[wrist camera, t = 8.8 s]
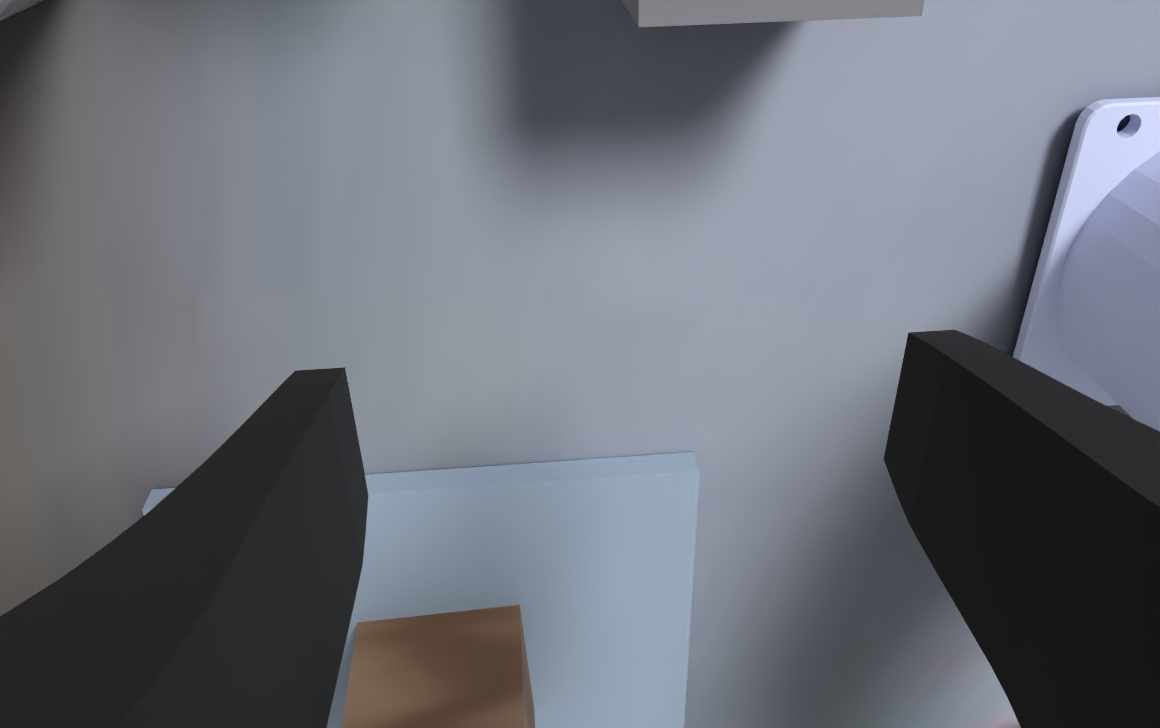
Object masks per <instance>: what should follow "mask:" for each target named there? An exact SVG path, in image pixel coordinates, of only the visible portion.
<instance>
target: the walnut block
mask: <svg viewBox="0 0 1160 728" xmlns="http://www.w3.org/2000/svg"><path fill="white" fill-rule="evenodd" d="M341 728H535V714H534V703H533V696H532V689H531V682H530V675H529V668H528V661H527V653H526V646H525V639H524V632H523V625H522V618H521V611H520V605H513V606H504V607H495V608H486V609H477V610H468V611H459V612H449V613H440V614H431V615H422V616H413V617H404V618H395V619H386V620H376V621H367V622H358V624H357V630H356V637H355V643H354V649H353V656H352V662H351V668H350V675H349V681H348V687H347V694H346V700H345V706H344V713H343V719H342V725H341Z"/></svg>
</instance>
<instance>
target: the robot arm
mask: <svg viewBox="0 0 1160 728" xmlns="http://www.w3.org/2000/svg"><path fill="white" fill-rule="evenodd" d="M1127 115H1130V121H1129V123H1128V125H1127V126H1126V127H1125V128H1124V129H1123V130H1121V131H1119V132H1117V126H1118V124H1119V122H1120V121H1121V120H1122V119H1123V118H1124V117H1125V116H1127ZM1114 405H1120V406H1121V407H1122V408H1123V409H1124V410H1125V411H1126V412H1127V413H1128V414H1129V415H1130V416H1131V417H1132V418H1133V419H1132V418H1130V417H1128V416H1126V415H1124V414H1122V413H1120V412H1118V411H1116V410H1114V409H1112V408H1110V407H1108V406H1114ZM884 461H885V464H886V466H887V469H888V472H889V474H890V477H891V480H892V482H893V485H894V488H895V490H896V493H897V496H898V498H899V500H900V503H901V505H902V508H903V510H904V512H905V515H906V517H907V520H908V522H909V524H910V526H911V528H912V530H913V531H914V533H915V535H916V537H917V539H918V541H919V542H920V544H921V546H922V548H923V549H924V551H925V553H926V555H927V556H928V558H929V560H930V562H931V563H932V565H933V567H934V569H935V570H936V572H937V574H938V576H939V577H940V579H941V581H942V582H943V584H944V586H945V588H946V589H947V591H948V593H949V594H950V596H951V598H952V600H953V601H954V603H955V605H956V606H957V608H958V610H959V612H960V613H961V615H962V617H963V618H964V620H965V622H966V624H967V625H968V627H969V629H970V630H971V632H972V634H973V636H974V637H975V639H976V641H977V642H978V644H979V646H980V648H981V649H982V651H983V653H984V654H985V656H986V658H987V660H988V661H989V663H990V665H991V667H992V669H993V671H994V672H995V674H996V676H997V678H998V680H999V682H1000V684H1001V686H1002V688H1003V690H1004V691H1005V693H1006V695H1007V697H1008V699H1009V702H1010V704H1011V706H1012V708H1013V711H1014V713H1015V715H1016V717H1017V720H1018V722H1019V724H1020V726H1021V728H1160V97H1148V98H1126V99H1105V100H1100V101H1096V102H1094V103H1092V104H1091V105H1089V106H1087V107H1086V108H1085V109H1084V110H1083V112H1082V113H1081V114H1080V115H1079V117H1078V119H1077V122H1076V124H1075V128H1074V132H1073V135H1072V139H1071V143H1070V146H1069V150H1068V154H1067V158H1066V161H1065V165H1064V169H1063V172H1062V176H1061V180H1060V184H1059V187H1058V191H1057V195H1056V198H1055V202H1054V206H1053V210H1052V213H1051V217H1050V221H1049V224H1048V228H1047V232H1046V236H1045V239H1044V243H1043V247H1042V250H1041V254H1040V258H1039V262H1038V265H1037V269H1036V273H1035V276H1034V280H1033V284H1032V288H1031V291H1030V295H1029V299H1028V302H1027V306H1026V310H1025V314H1024V317H1023V321H1022V325H1021V328H1020V332H1019V336H1018V340H1017V343H1016V347H1015V351H1014V354H1013V357H1012V356H1010V355H1008V354H1006V353H1004V352H1002V351H1000V350H998V349H996V348H994V347H992V346H990V345H988V344H986V343H984V342H982V341H980V340H978V339H975V338H973V337H971V336H969V335H966V334H964V333H961V332H959V331H956V330H945V331H929V332H912V333H908V338H907V343H906V348H905V353H904V358H903V363H902V369H901V374H900V379H899V384H898V389H897V394H896V399H895V404H894V410H893V415H892V420H891V425H890V430H889V435H888V440H887V445H886V451H885V456H884ZM368 496H369V495H368V490H367V485H366V479H365V474H364V468H363V463H362V458H361V452H360V447H359V441H358V436H357V431H356V425H355V420H354V414H353V409H352V403H351V398H350V393H349V387H348V382H347V376H346V371H345V368H331V369H315V370H299V371H295V372H294V373H293V374H292V375H290V376H289V377H288V378H287V379H286V380H285V381H284V382H283V383H282V384H281V385H280V386H279V387H278V388H277V390H276V391H275V392H274V393H273V394H272V395H271V396H270V397H269V398H268V399H267V400H266V401H265V402H264V403H263V404H262V405H261V406H260V407H259V408H258V409H257V410H256V411H255V412H254V413H253V414H252V415H251V417H250V418H249V419H248V420H247V421H246V422H245V423H244V424H243V425H242V426H241V427H240V428H239V429H238V430H237V431H236V432H235V433H234V434H233V435H232V436H231V437H230V438H229V439H228V440H227V441H226V442H225V443H224V444H223V445H222V446H221V447H220V448H219V449H218V450H217V451H216V452H215V453H214V454H213V455H212V456H211V457H209V458H208V459H207V460H206V461H205V462H204V463H203V464H202V465H201V466H200V467H199V468H197V469H196V470H195V471H194V472H193V473H192V474H191V475H190V476H189V477H187V478H186V479H185V480H184V481H183V482H182V483H181V484H180V485H178V486H177V487H176V488H175V489H174V490H173V491H172V492H171V493H169V494H168V495H167V496H166V497H165V498H164V499H163V500H162V501H160V502H159V503H158V504H157V505H156V506H155V507H154V508H153V509H152V510H150V511H149V512H148V513H147V514H146V515H144V516H143V517H142V518H141V519H140V520H138V521H137V522H136V523H135V524H133V525H132V526H131V527H130V528H128V529H127V530H126V531H124V532H123V533H122V534H121V535H119V536H118V537H117V538H116V539H114V540H113V541H112V542H110V543H109V544H107V545H106V546H105V547H103V548H102V549H101V550H99V551H98V552H97V553H95V554H94V555H93V556H91V557H90V558H88V559H87V560H86V561H84V562H83V563H82V564H80V565H79V566H78V567H76V568H75V569H73V570H72V571H70V572H69V573H68V574H66V575H65V576H63V577H62V578H60V579H59V580H57V581H56V582H54V583H52V584H51V585H49V586H48V587H46V588H45V589H43V590H41V591H40V592H38V593H37V594H35V595H34V596H32V597H30V598H29V599H27V600H26V601H24V602H23V603H21V604H20V605H18V606H16V607H15V608H13V609H12V610H10V611H9V612H7V613H5V614H4V615H2V616H1V617H0V728H327V724H328V719H329V714H330V710H331V705H332V701H333V696H334V692H335V687H336V683H337V679H338V674H339V670H340V665H341V661H342V656H343V652H344V647H345V643H346V639H347V634H348V630H349V625H350V621H351V616H352V612H353V607H354V603H355V598H356V593H357V589H358V584H359V580H360V575H361V570H362V565H363V556H364V545H365V535H366V522H367V509H368Z"/></svg>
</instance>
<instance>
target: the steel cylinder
mask: <svg viewBox="0 0 1160 728" xmlns="http://www.w3.org/2000/svg"><path fill="white" fill-rule="evenodd" d="M41 1H43V0H0V21H1V20H3V19H5V18H7V17H10V16H12V15H14V14H16V13H18V12H21V11H23V10H25V9H27V8H29V7H32V6H34V5H36V4H38V3H40V2H41Z"/></svg>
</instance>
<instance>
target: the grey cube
mask: <svg viewBox="0 0 1160 728" xmlns="http://www.w3.org/2000/svg"><path fill="white" fill-rule="evenodd" d="M621 1H622V3H623V4H624V6H625V7H626V9H627V10H628V12H629V13H630V15H631V17H632V18H633V20H634V21H635V23H636V24H637V26H638V27H658V26H683V25H707V24H732V23H757V22H781V21H806V20H830V19H855V18H880V17H904V16H922V10H923V4H924V0H621Z"/></svg>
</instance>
